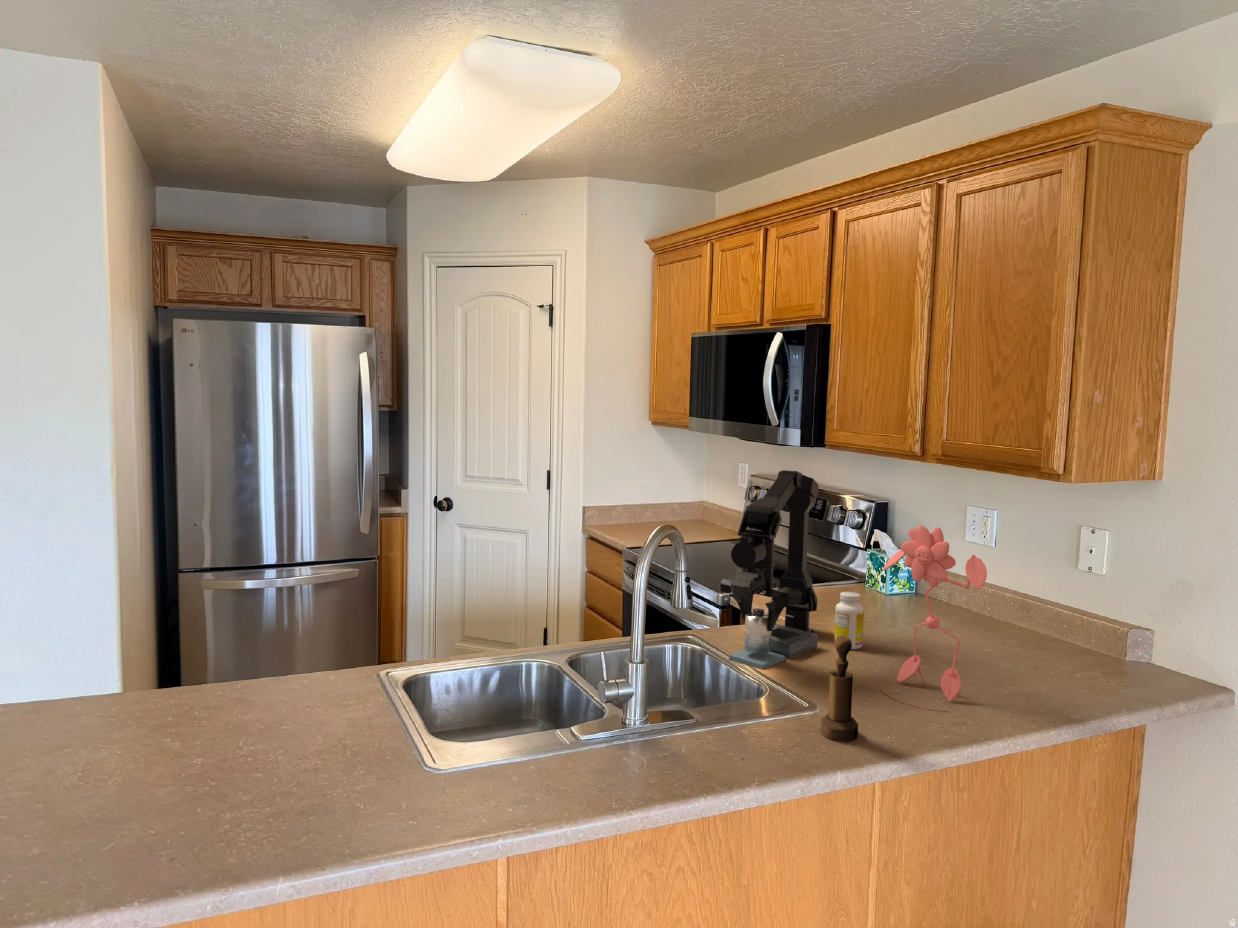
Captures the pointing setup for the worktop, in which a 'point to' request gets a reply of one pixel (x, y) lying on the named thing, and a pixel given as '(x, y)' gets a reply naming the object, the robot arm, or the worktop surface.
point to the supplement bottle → (850, 619)
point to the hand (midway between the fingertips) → (758, 627)
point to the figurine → (930, 564)
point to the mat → (757, 658)
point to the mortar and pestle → (840, 698)
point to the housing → (792, 641)
